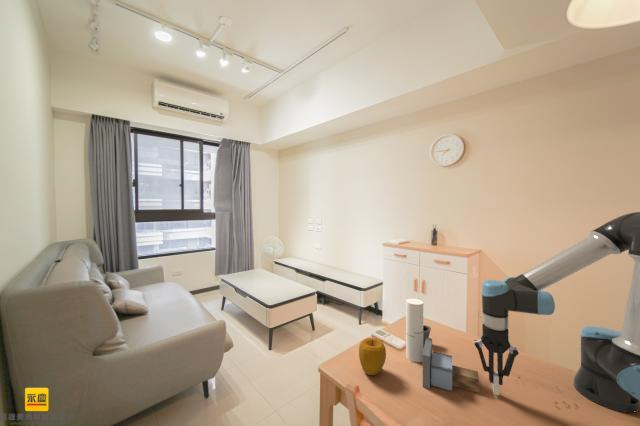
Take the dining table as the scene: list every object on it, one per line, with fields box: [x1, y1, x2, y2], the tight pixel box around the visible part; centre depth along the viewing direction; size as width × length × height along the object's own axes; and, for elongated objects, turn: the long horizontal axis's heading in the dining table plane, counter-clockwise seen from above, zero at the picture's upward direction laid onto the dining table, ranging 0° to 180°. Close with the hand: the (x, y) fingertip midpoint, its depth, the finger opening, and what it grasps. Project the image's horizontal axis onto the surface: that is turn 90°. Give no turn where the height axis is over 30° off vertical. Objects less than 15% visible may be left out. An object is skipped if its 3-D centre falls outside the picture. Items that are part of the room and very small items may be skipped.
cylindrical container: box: [405, 298, 424, 363], centre depth 111 cm, size 7×7×25 cm
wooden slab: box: [452, 364, 480, 393], centre depth 95 cm, size 14×5×5 cm, turn 63°
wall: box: [422, 337, 433, 390], centre depth 98 cm, size 2×14×12 cm, turn 152°
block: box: [430, 351, 453, 392], centre depth 96 cm, size 7×10×8 cm
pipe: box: [423, 324, 432, 347], centre depth 121 cm, size 6×13×8 cm, turn 107°
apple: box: [358, 337, 387, 376], centre depth 102 cm, size 11×11×13 cm
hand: (495, 392), depth 88 cm, fingers closed
